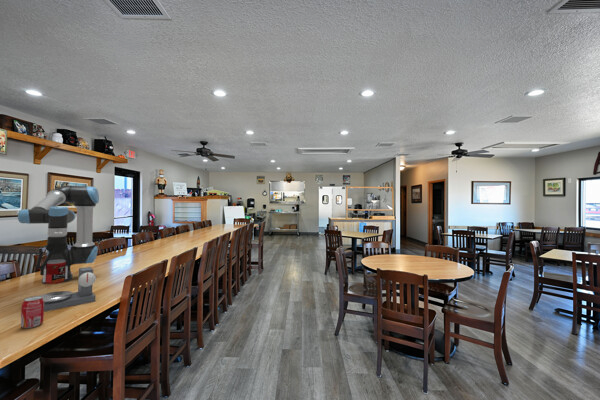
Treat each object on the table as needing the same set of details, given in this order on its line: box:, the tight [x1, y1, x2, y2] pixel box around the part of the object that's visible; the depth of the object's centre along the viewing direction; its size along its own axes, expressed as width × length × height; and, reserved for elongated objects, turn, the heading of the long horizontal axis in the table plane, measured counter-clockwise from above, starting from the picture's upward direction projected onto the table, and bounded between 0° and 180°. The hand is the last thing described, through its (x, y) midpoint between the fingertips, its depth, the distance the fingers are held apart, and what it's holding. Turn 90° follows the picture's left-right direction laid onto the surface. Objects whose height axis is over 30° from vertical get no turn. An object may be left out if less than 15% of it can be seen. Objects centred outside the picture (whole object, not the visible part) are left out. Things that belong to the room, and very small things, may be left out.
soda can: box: [20, 295, 45, 329], centre depth 116 cm, size 7×7×12 cm
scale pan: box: [39, 290, 73, 302], centre depth 138 cm, size 14×14×2 cm
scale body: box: [44, 266, 97, 313], centre depth 141 cm, size 14×24×17 cm, turn 138°
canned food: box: [45, 260, 66, 285], centre depth 138 cm, size 8×8×11 cm
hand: (55, 279), depth 138 cm, fingers closed on canned food, 8 cm apart
